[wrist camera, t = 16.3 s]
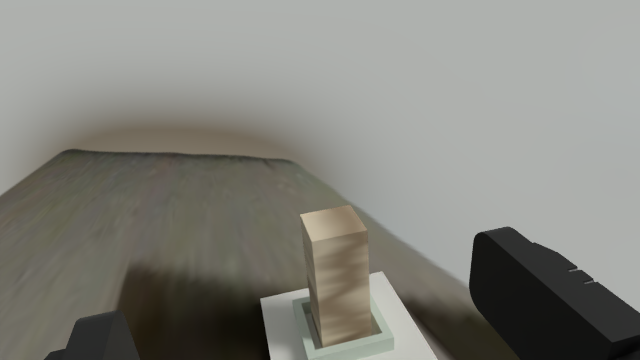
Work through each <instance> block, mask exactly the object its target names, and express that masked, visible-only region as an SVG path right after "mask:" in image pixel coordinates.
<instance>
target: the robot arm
mask: <svg viewBox="0 0 640 360" xmlns="http://www.w3.org/2000/svg"><path fill="white" fill-rule="evenodd" d="M469 289H470V294H471V298H472V300H473V302H474V304H475V306H476V308H477V309H478V311H479V312H480V313H481V314H482V315H483V316H484V318H485V319H486V320H487V321H488V322H489V323H490V325H491V326H492V327H493V328H494V329H495V330H496V332H497V333H498V334H499V335H500V336H501V337H502V338H503V340H504V341H505V342H506V343H507V344H508V345H509V347H510V348H511V349H512V350H513V351H514V352H515V354H516V355H517V356H518V357H519V358H520V359H521V360H640V313H639V312H638V311H636V310H635V309H633V308H632V307H631V306H629V305H628V304H626V303H625V302H624V301H623V300H621V299H620V298H619V297H617V296H616V295H614V294H613V293H612V292H610V291H609V290H608V289H607V288H605V287H604V286H603V285H601V284H600V283H598V282H594V280H593V278H591V277H590V276H589V275H588V274H586V273H585V272H583V271H582V270H578V268H577V266H575V265H574V264H573V263H571V262H570V261H569V260H567V259H566V258H565V257H563V256H562V255H561V254H559V253H558V252H555V251H553V250H551V249H548V248H546V247H544V246H542V245H539V244H537V243H532V242H530V241H529V240H528V239H526V238H525V237H524V236H522V235H521V234H520V233H518V232H517V231H516V230H515V229H513V228H511V227H503V228H498V229H494V230H489V231H485V232H480V233H478V234H477V235H476V236H475V238H474V243H473V251H472V261H471V271H470V280H469ZM44 360H140V358H139V356H138V353H137V350H136V347H135V344H134V342H133V339H132V336H131V333H130V330H129V328H128V325H127V322H126V319H125V317H124V315H123V313H122V312H121V311H120V310H116V311H112V312H107V313H102V314H98V315H93V316H89V317H84V318H80V319H78V320H77V321H76V323H75V325H74V328H73V330H72V333H71V336H70V338H69V341H68V344H67V346H66V349H62V350H58V351H54V352H50V353H49V354H48V356H47V357H46V358H45V359H44Z"/></svg>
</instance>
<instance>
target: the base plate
mask: <svg viewBox="0 0 640 360" xmlns="http://www.w3.org/2000/svg"><path fill="white" fill-rule="evenodd" d="M369 284H370V309H371V334H372V336H369V337H365V338H361V339H357V340H353V341H349V342H345V343H341V344H337V345H333V346H329V347H325V348H322V347H321V344H320V341H319V338H318V335H317V332H316V329H315V326H314V323H313V320H312V312H311V304H310V295H309V288H306V289H302V290H297V291H293V292H288V293H284V294H280V295H275V296H271V297H266V298H262V299H260V300H261V306H262V312H263V318H264V323H265V329H266V335H267V341H268V347H269V353H270V358H271V360H438V359H437V358H436V356H435V355H434V353H433V351H432V350H431V348H430V347H429V345H428V343H427V342H426V340H425V339H424V337H423V335H422V334H421V332H420V331H419V329H418V328H417V326H416V324H415V323H414V321H413V320H412V318H411V316H410V315H409V313H408V312H407V310H406V308H405V307H404V305H403V304H402V302H401V300H400V299H399V297H398V296H397V294H396V293H395V291H394V289H393V288H392V286H391V285H390V283H389V281H388V280H387V278H386V277H385V275H384V273H383V272H377V273H373V274H369Z"/></svg>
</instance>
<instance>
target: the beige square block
mask: <svg viewBox="0 0 640 360" xmlns="http://www.w3.org/2000/svg"><path fill="white" fill-rule="evenodd" d="M300 219H301V227H302V236H303V244H304V253H305V261H306V270H307V278H308V287H309V295H310V304H311V312H312V320H313V323H314V326H315V329H316V332H317V335H318V338H319V341H320V344H321V347H322V348H325V347H329V346H333V345H337V344H341V343H345V342H349V341H353V340H357V339H361V338H365V337H369V336H372V334H371V309H370V284H369V260H368V235H367V229H366V228H365V226H364V225H363V223H362V222H361V220H360V219H359V217H358V216H357V215H356V213H355V212H354V210H353V209H352V207H351V206H350V205H347V206H342V207H336V208H331V209H326V210H321V211H316V212H311V213H306V214H300Z"/></svg>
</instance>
